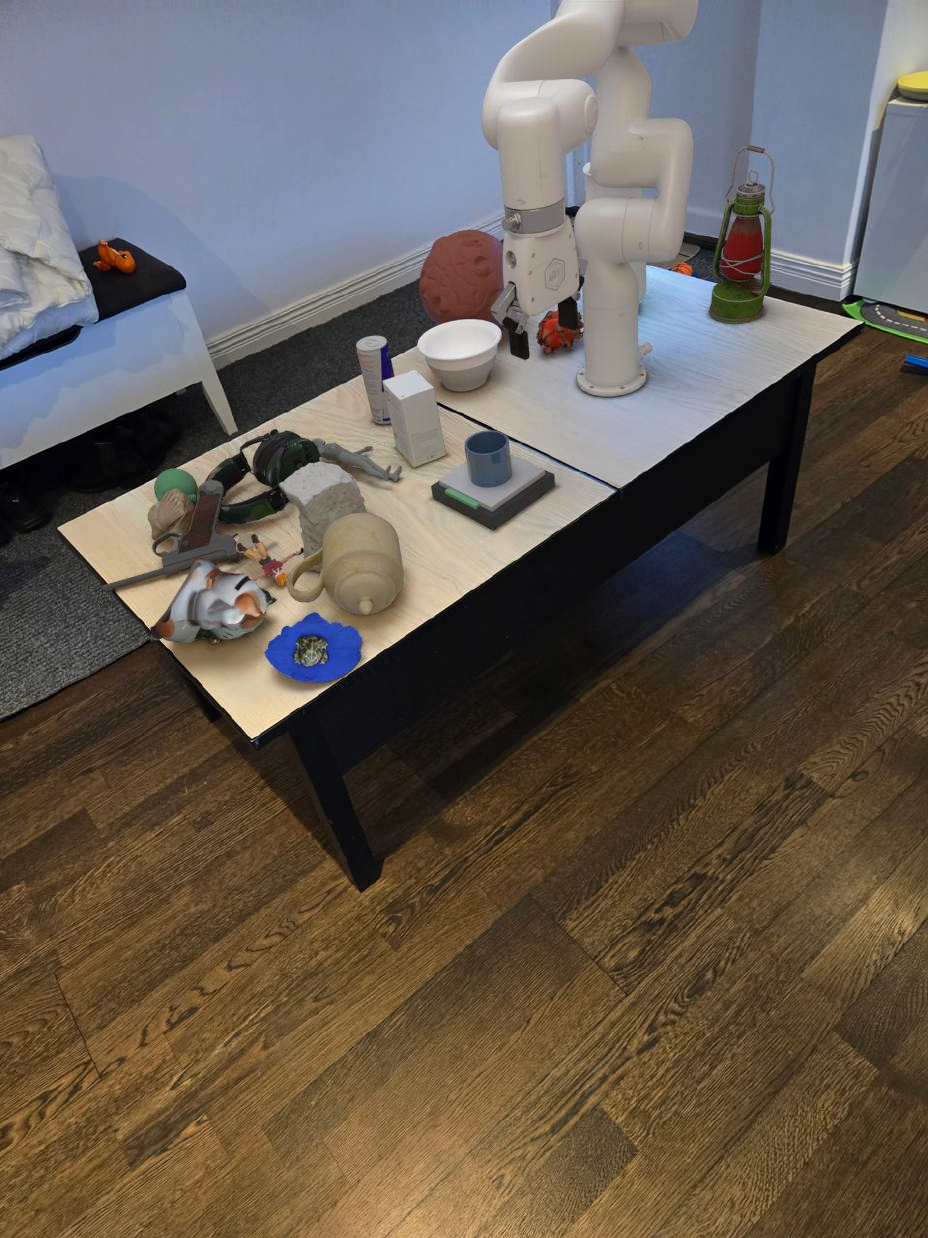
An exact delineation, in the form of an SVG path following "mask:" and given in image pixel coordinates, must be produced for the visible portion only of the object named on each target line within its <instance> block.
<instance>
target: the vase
mask: <svg viewBox="0 0 928 1238" xmlns="http://www.w3.org/2000/svg"><path fill="white" fill-rule="evenodd" d="M582 172H583V173H584V174H585V175H586V181H585V182H586V184H585V200H584V201H585V202H584V204H585V203H586V202H588V201H590V200H592V199H596V198H601V197H643V188H609V187H603V186H600V185H598V184H596V183H595V182H594V180H593V179H592V176H591V171H590V161H588V162H587V163H585V164H584V165H583V167H582ZM628 263H629V265H630V266H631V268H632V269H633V271H634V273H635V275H636V278H637V281H638V287H639V303H638V309H640V303H641V302H642V301H643V300H645V299H644V298H645V297H646V295H647V288H648V287H647V285H648V284H647V262H628Z"/></svg>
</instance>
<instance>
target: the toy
mask: <svg viewBox="0 0 928 1238" xmlns="http://www.w3.org/2000/svg"><path fill="white" fill-rule="evenodd" d="M362 641H363V637H362V636H360V632H359V631H358V629H356V627H354V626H352V625H346V626H345V625H343V624H342V623H341V622H338V621H334V622H329V621H328V620H327V619H325V618H323V616H321V615H320V613H319V612H316V611H313V612H311V613H308V614H307V615H305V616H304V617H303V618H302V619H301V620H298V621H297V622H296V623H294V624H293V625H292V626H289V625H284V626H282V628H281V631H280V634H277V635H276V636H275V637H274V638H272V639H271V640H269V642H268V643H267V649H265V650H264V651H263V652H264V656H265V658H266V659H267V661H268V662H269V663H270V665H271V666H272V667H273V668H274V669H275V670H276V671H278V672H279V673H281V674H282V675H285V676H287V677H289V678H291V679H293V680H295V681H299V682H310V683H323V682H324V683H325V682H329V681H332V680H335V679H338V678H340V677H343V676H344V675H346V674H347V673H349V672H350V671H351V670H353V668H355V666H356V665H357V664H358V663H359V661H360V659H361V657H362V652H361V649H360V648H361V647H360V646H361V644H362Z"/></svg>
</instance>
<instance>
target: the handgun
mask: <svg viewBox="0 0 928 1238" xmlns="http://www.w3.org/2000/svg"><path fill="white" fill-rule="evenodd" d="M223 495H224V488H223V485H222V483H221V482H219V481H216V480H208V481H206V482H205V481H204V482H202V483H201V484H200V485H199V486H198V490H197V501H196V504H195V510H194V514H193V517H192V521H191V524H190V527H189V530H188V532H187V534H186V535H179V534H177V533H166V534H164V535H163V536H161V537H160V538H158V539H157V540H153V543H152V544H151V550H152V552H153V553H154V555H155V556H157V557H160V558H161V559H160V561H161V565H162V567H161V568H158V569H154V570H151V571H148V572H144V573H141V574H137V575H134V576H130V577H127V578H124V579H120V580H116V581H112V582H109V583H107V584H103V585H101V589H102V591H103V592H104V593H106V594H108V595H110V596H112V594H113V592H115V590H117V589H120V588H124V587H127V586H130V585H135V584H138V583H141V582H144V581H148V580H151V579H155V578H158V577H161V576H166V577H170V576H171V577H172V576H175V575H179V573H181V572H184V571H188V570H190V568H191V565H192V562H193V560H194V559H195V558H199V557H201V558H204V559H207V560H209V561H210V562H212V563H213V564H215V563H219V562H223V561H226V560H229V562H230V563H232V562H240V560H241V557H242V556H245V555H244V553H245V552H244V553H239V552H237V550H236V544H237V542H236V540H235V539H234V538H236V537H238V536H239V534H238V533H237V532H236V533H235V534H234V533H233V535H231V534H218V533H217V525H218V521H219V520H218V517H219V512H220V508H221V504H223V501H224V498H223ZM222 500H223V501H222ZM175 536H176V537H179V538H180V539H181V541H178V540H177V539H176V538H175ZM168 538H172V539H173V540H174V541H173V545H172V547H171V548H170V550H169V551H166V550H165V551H161V552H157V548H158V546H159V545H160V544H162V543H164V542H165V541H167V539H168ZM179 542H180V543H179Z"/></svg>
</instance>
